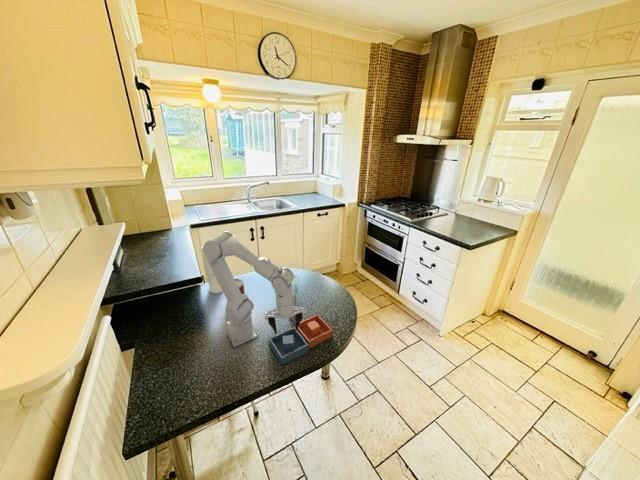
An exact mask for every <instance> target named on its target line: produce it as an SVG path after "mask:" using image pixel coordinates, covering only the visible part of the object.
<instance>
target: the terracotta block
mask: <svg viewBox="0 0 640 480" xmlns="http://www.w3.org/2000/svg"><path fill="white" fill-rule="evenodd" d="M307 332H308V333H309V335H310V336H311V337H314V336H316V335H318V334H320V325H319V324H318V323H317V322H316V321H312V322H310V323H308V324H307Z"/></svg>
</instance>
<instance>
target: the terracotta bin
mask: <svg viewBox="0 0 640 480" xmlns="http://www.w3.org/2000/svg"><path fill="white" fill-rule="evenodd" d="M312 321H316V322H317V323H318V324H319V325H320V334H318V335H316V336H314V337H311V336H310V335H309V333H308V332H307V324H308V323H310V322H312ZM297 331H298V332H299V333H300V335H301V336H302V337H303V338H304V340H305V341H306V342H307V343H308V345H309V350H310V349H312V348H313V347H316V346H317V345H319V344H321V343H323V342H325V341H327V340H329V339H330V338H333V333H334V330H333V329H332V328H331V327H330V325H328V324H327V322H326V321H324V319H323V318H321V316H320V315H319V314H318V313H317V314H316V315H314V316H313V315H312V316H311V317H309V318H306V319H304V320H301V322H300V324H299V326H298V330H297Z"/></svg>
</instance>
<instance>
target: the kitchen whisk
mask: <svg viewBox="0 0 640 480" xmlns="http://www.w3.org/2000/svg"><path fill="white" fill-rule="evenodd" d="M297 278H299V276H298V275H294V278H293V280H294V281H295V284H297V283H299V284H298V287H295V289H293V283H291V285H292V293H293V294H292V305H293V306H295V307H297V295H298V293H299V290H300V285H301V282H300V279H297ZM297 288H298V289H297ZM288 320H289V322H290V323H291V324H293V323H295V315H294V316H291V317H289V318H288Z"/></svg>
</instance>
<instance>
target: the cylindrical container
mask: <svg viewBox="0 0 640 480" xmlns="http://www.w3.org/2000/svg"><path fill="white" fill-rule="evenodd" d="M203 246H204V244H203V245H202V246H201V247H200V248H201V253H202V258H203V263H204V268H205V273H206V278H207V282H208V287H209V291H210V293H211V294H221V293H223V290H222V288H221V287H220V285H219V283H218V281H217V279H216V277H215V275H214V273H213V271H212V269H211V267H210V265H209V263H208V261H207V257H206V255H205V253H204V251H203V249H202V248H203Z"/></svg>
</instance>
